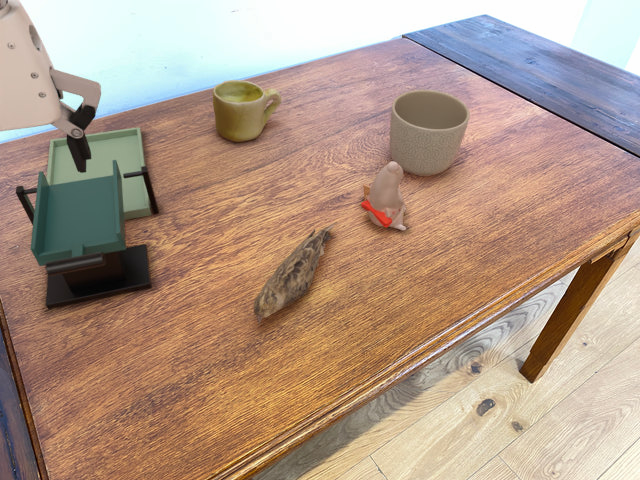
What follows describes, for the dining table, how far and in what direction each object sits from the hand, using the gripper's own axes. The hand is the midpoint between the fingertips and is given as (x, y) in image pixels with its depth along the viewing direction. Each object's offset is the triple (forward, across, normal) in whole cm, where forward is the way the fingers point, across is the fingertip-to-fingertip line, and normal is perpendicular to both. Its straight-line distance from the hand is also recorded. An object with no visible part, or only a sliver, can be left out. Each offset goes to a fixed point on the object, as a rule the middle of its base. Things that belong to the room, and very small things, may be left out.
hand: (31, 172), depth 51 cm
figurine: (+22, -43, -5) cm, 48 cm away
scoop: (+14, -1, -7) cm, 16 cm away
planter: (+22, -54, -16) cm, 61 cm away
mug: (+22, -28, -35) cm, 50 cm away
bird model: (+22, -27, +3) cm, 35 cm away
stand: (+22, -1, -9) cm, 23 cm away
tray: (+22, -1, -27) cm, 35 cm away
